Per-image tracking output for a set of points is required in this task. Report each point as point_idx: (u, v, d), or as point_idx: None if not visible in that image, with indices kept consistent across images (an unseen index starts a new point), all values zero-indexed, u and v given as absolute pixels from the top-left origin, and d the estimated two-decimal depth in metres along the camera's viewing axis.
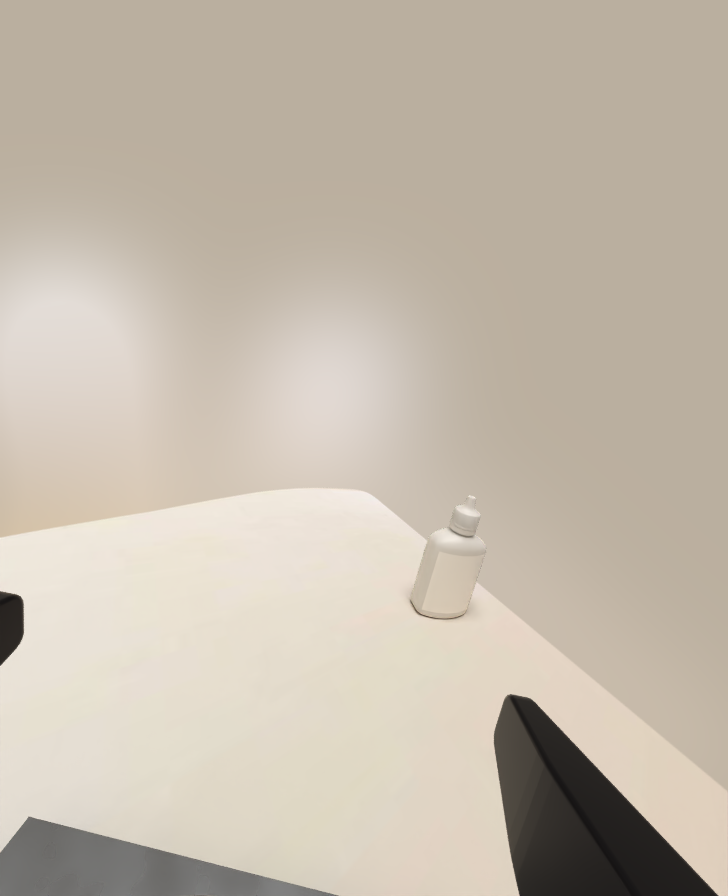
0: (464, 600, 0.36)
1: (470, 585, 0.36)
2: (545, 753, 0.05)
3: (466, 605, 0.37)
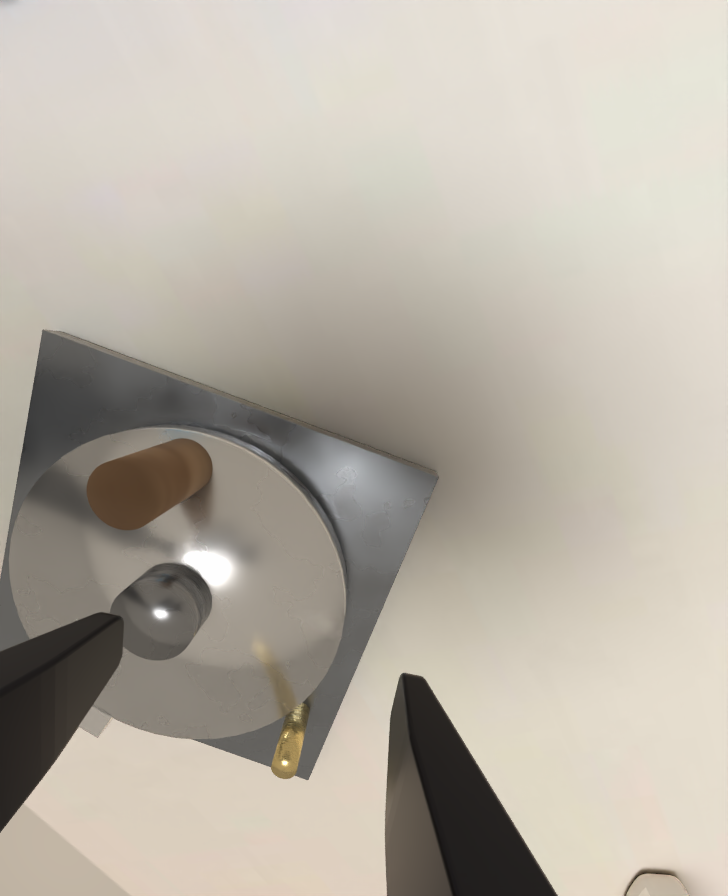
0: None
1: None
2: (414, 726, 0.05)
3: None
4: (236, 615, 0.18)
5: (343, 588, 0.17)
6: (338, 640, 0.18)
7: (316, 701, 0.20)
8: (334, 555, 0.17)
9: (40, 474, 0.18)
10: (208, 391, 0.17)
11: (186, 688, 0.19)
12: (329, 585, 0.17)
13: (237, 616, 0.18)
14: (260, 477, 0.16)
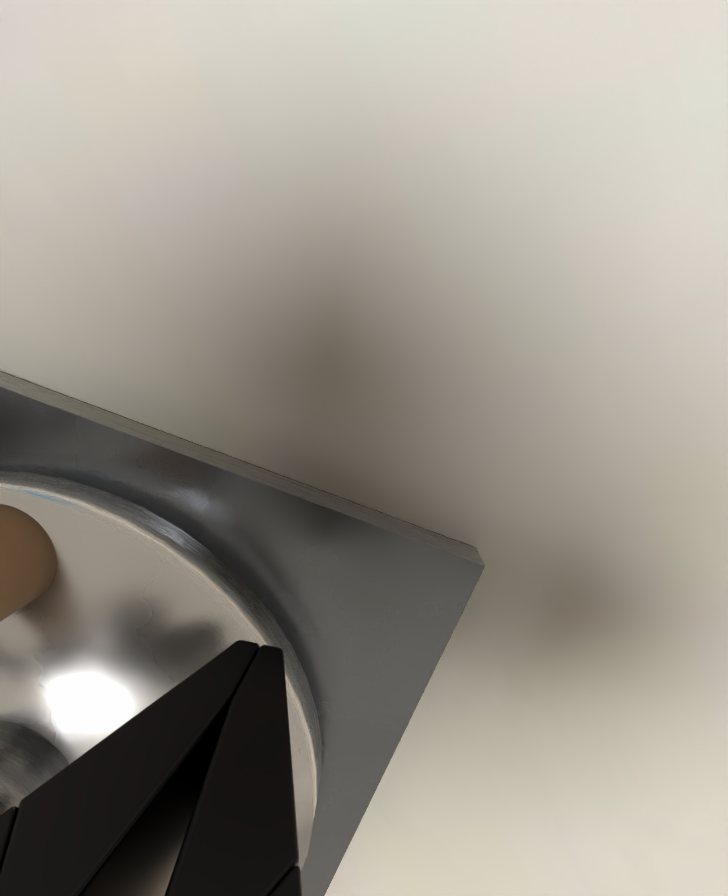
0: None
1: None
2: (242, 691, 0.05)
3: None
4: None
5: (310, 771, 0.09)
6: (303, 856, 0.10)
7: None
8: (292, 716, 0.09)
9: None
10: (64, 410, 0.09)
11: None
12: None
13: None
14: (148, 577, 0.08)
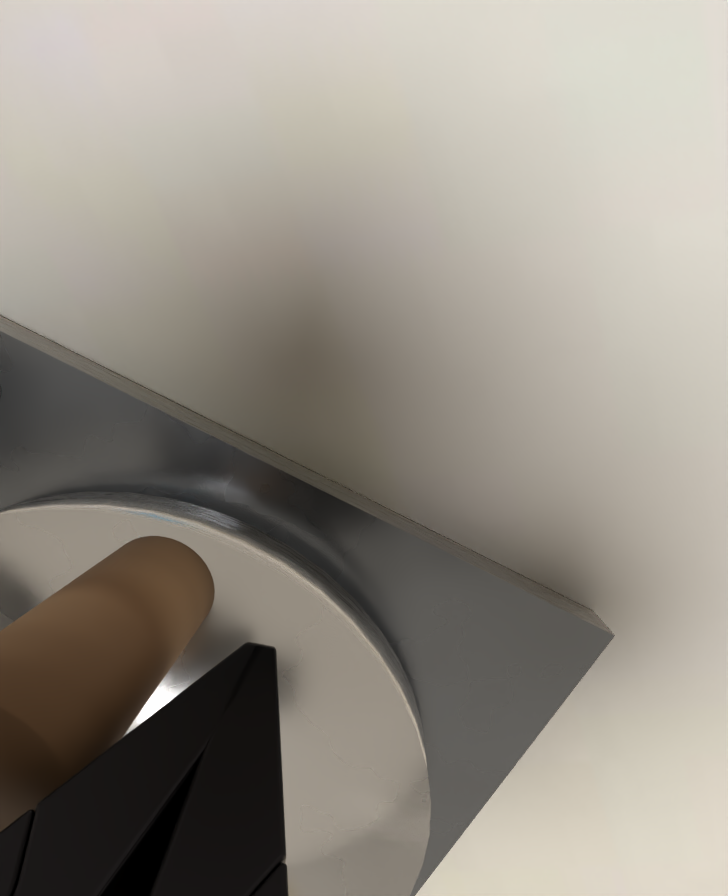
0: None
1: None
2: (234, 689, 0.05)
3: None
4: None
5: (428, 818, 0.10)
6: None
7: None
8: (423, 767, 0.09)
9: None
10: (222, 440, 0.09)
11: None
12: (405, 813, 0.09)
13: None
14: (305, 623, 0.08)
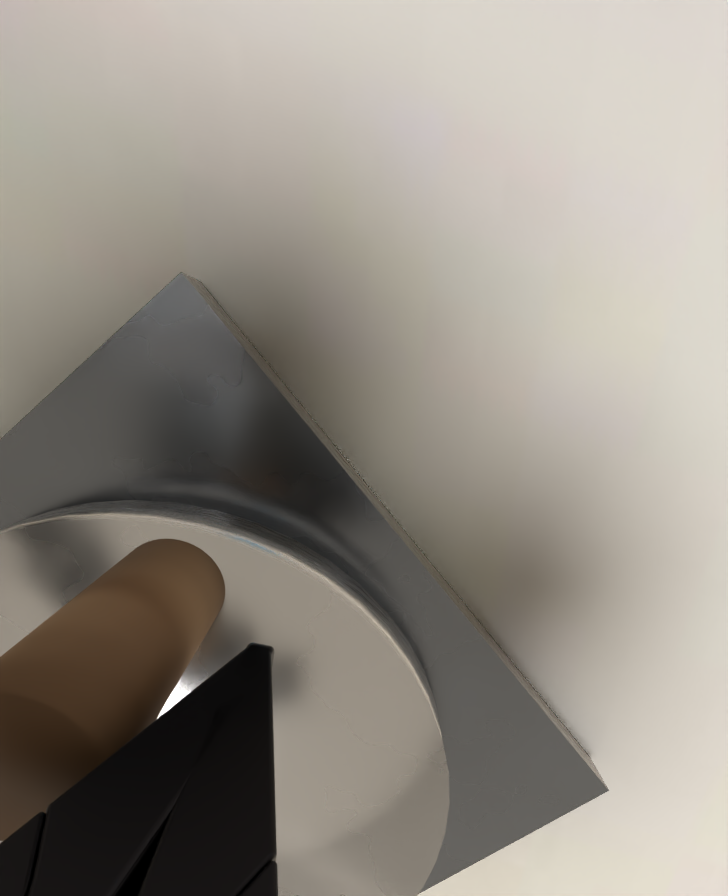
0: None
1: None
2: (228, 688, 0.05)
3: None
4: None
5: (447, 788, 0.10)
6: (431, 866, 0.10)
7: None
8: (438, 739, 0.10)
9: (19, 484, 0.10)
10: (390, 525, 0.10)
11: None
12: (425, 785, 0.10)
13: None
14: (315, 610, 0.09)
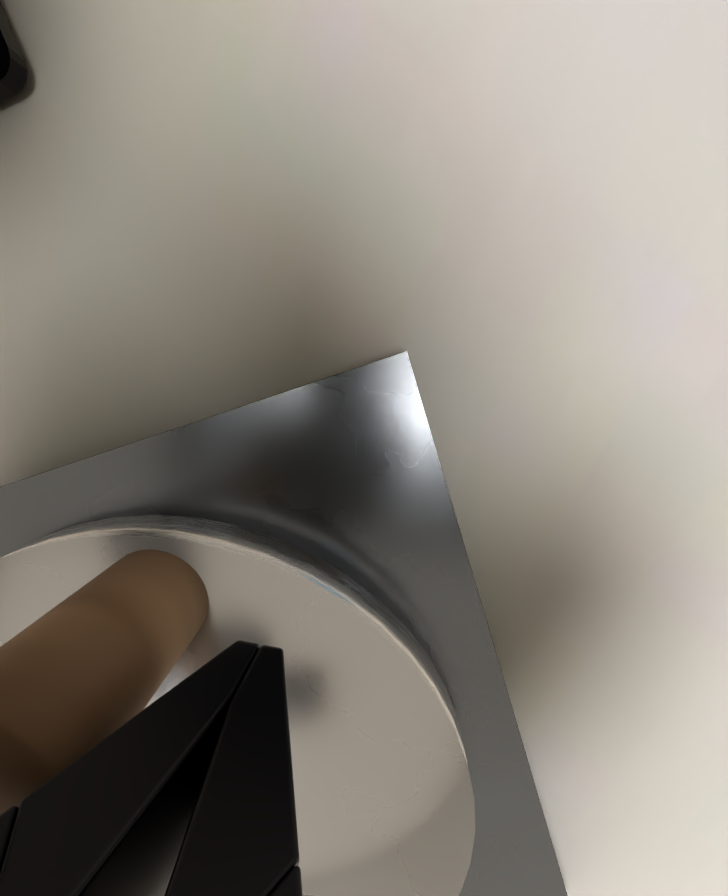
0: None
1: None
2: (242, 691, 0.05)
3: None
4: None
5: (470, 781, 0.09)
6: (466, 866, 0.10)
7: None
8: (451, 730, 0.09)
9: (161, 478, 0.10)
10: (490, 637, 0.10)
11: None
12: (445, 780, 0.09)
13: None
14: (300, 607, 0.08)
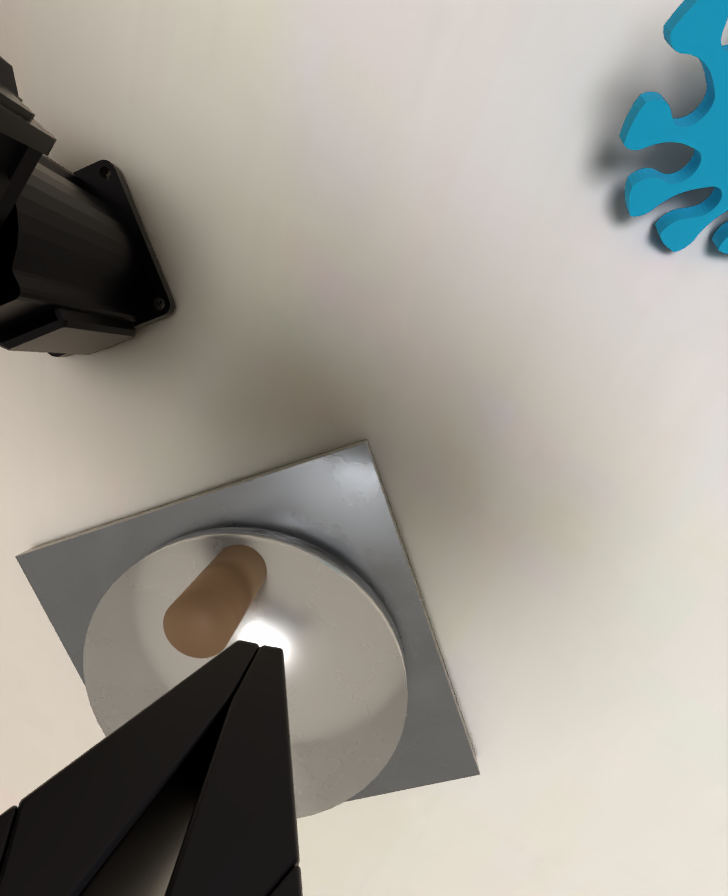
0: None
1: None
2: (242, 691, 0.05)
3: None
4: (302, 702, 0.18)
5: (403, 668, 0.18)
6: (404, 717, 0.18)
7: None
8: (391, 638, 0.17)
9: (238, 507, 0.18)
10: (417, 593, 0.18)
11: None
12: (390, 666, 0.18)
13: (303, 703, 0.18)
14: (313, 573, 0.17)
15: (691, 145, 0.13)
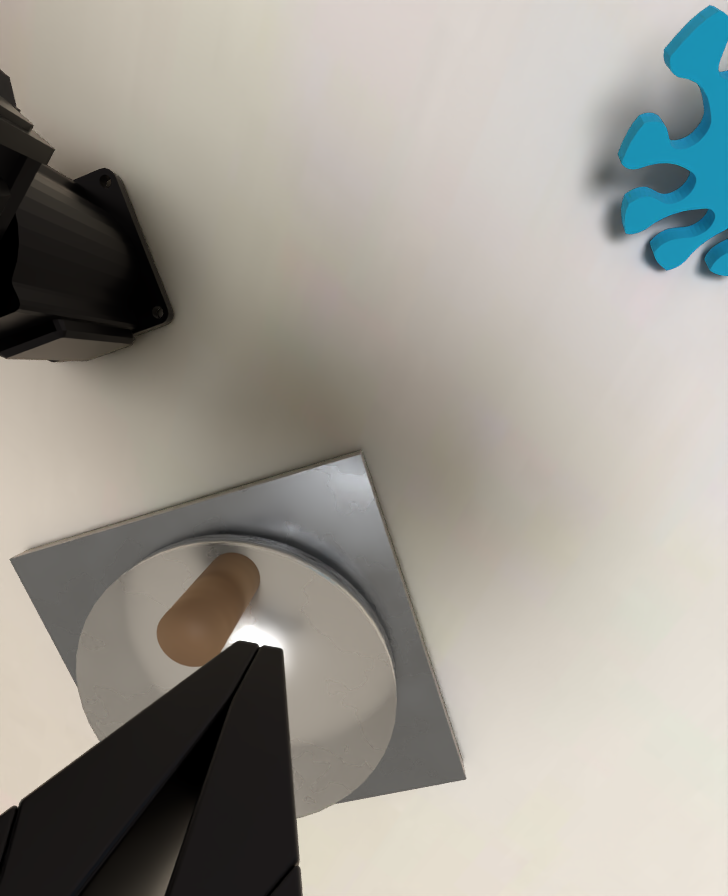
0: None
1: None
2: (242, 691, 0.05)
3: None
4: (293, 707, 0.19)
5: (393, 675, 0.18)
6: (392, 724, 0.18)
7: None
8: (382, 646, 0.18)
9: (233, 515, 0.18)
10: (408, 601, 0.19)
11: None
12: (380, 674, 0.18)
13: (294, 708, 0.19)
14: (305, 581, 0.17)
15: (687, 167, 0.13)
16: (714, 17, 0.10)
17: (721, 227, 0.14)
